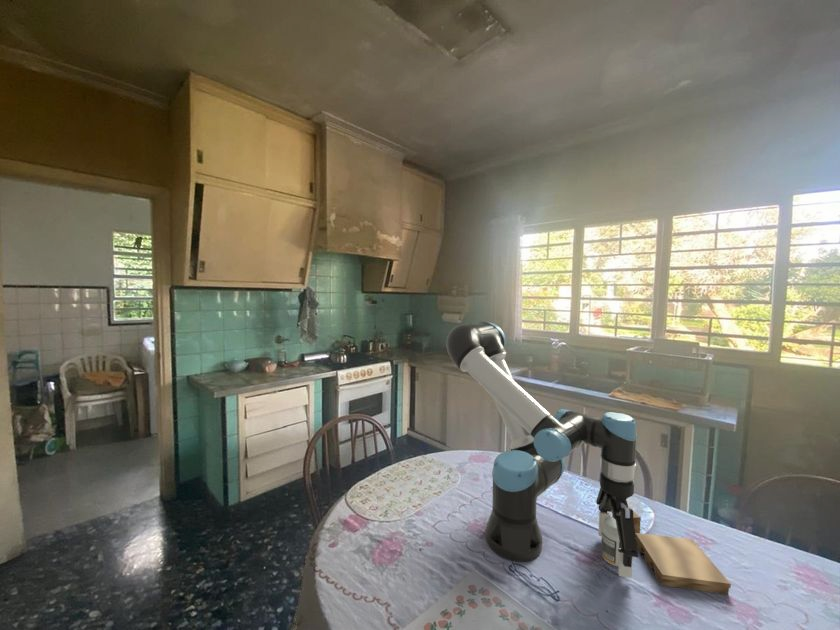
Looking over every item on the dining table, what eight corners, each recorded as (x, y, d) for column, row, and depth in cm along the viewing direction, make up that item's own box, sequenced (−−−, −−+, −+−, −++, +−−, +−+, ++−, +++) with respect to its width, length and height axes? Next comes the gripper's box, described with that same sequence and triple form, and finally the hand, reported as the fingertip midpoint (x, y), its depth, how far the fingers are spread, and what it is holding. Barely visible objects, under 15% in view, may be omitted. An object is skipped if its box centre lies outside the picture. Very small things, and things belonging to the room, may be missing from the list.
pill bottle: (619, 551, 90) (621, 515, 89) (630, 568, 84) (632, 531, 84) (597, 549, 90) (598, 514, 90) (606, 566, 85) (608, 529, 84)
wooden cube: (623, 535, 96) (624, 518, 96) (611, 523, 101) (612, 507, 101) (639, 534, 96) (640, 517, 96) (627, 522, 101) (628, 506, 101)
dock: (661, 586, 79) (662, 574, 79) (634, 543, 93) (635, 532, 93) (729, 596, 77) (730, 583, 76) (691, 549, 90) (692, 539, 90)
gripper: (658, 507, 73) (654, 599, 74) (613, 453, 97) (610, 523, 99) (621, 503, 74) (617, 594, 76) (586, 451, 99) (583, 520, 100)
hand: (613, 554), depth 87 cm, fingers open, 13 cm apart
